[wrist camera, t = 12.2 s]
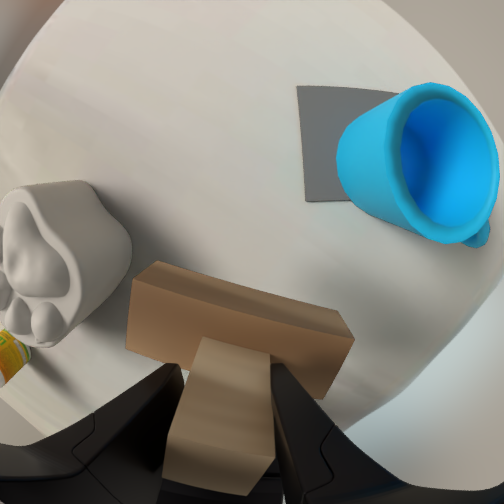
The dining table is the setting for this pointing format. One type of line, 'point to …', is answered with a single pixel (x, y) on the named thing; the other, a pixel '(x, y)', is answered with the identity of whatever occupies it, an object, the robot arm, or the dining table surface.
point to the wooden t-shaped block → (228, 367)
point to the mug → (423, 165)
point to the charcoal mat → (329, 133)
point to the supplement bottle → (11, 356)
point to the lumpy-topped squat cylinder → (57, 259)
